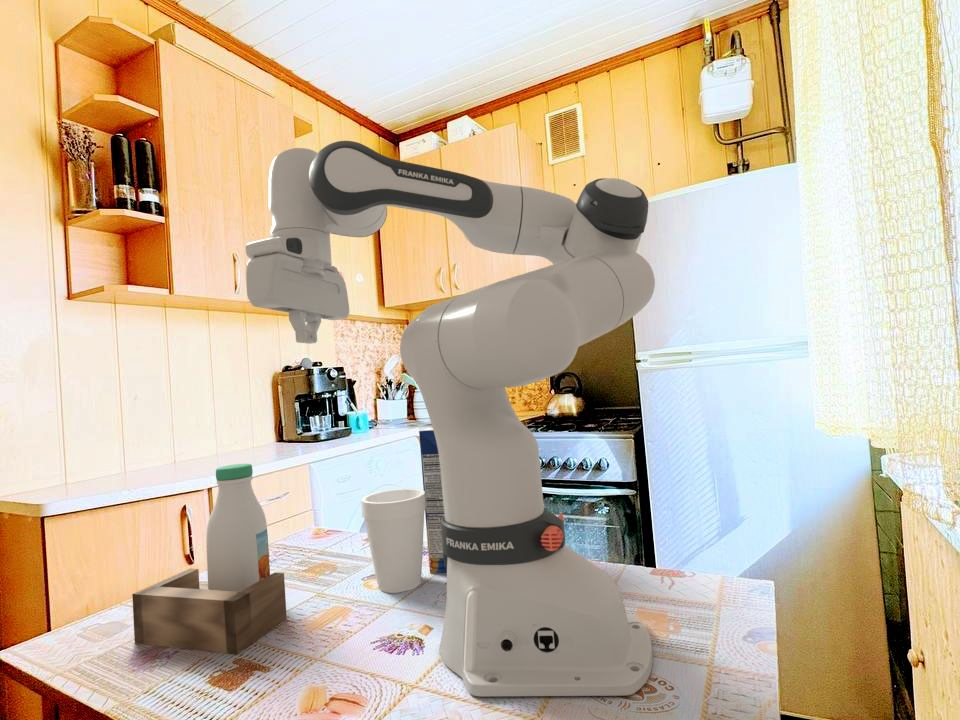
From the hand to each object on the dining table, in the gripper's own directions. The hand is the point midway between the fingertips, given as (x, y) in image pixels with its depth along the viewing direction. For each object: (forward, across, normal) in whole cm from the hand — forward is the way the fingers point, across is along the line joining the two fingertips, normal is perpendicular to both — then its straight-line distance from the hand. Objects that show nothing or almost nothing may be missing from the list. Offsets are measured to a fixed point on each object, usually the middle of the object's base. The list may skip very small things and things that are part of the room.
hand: (306, 342), depth 78 cm
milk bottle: (+37, +9, -6) cm, 39 cm away
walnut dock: (+37, +14, -6) cm, 40 cm away
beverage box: (+37, -12, +18) cm, 43 cm away
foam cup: (+37, -2, +12) cm, 39 cm away
